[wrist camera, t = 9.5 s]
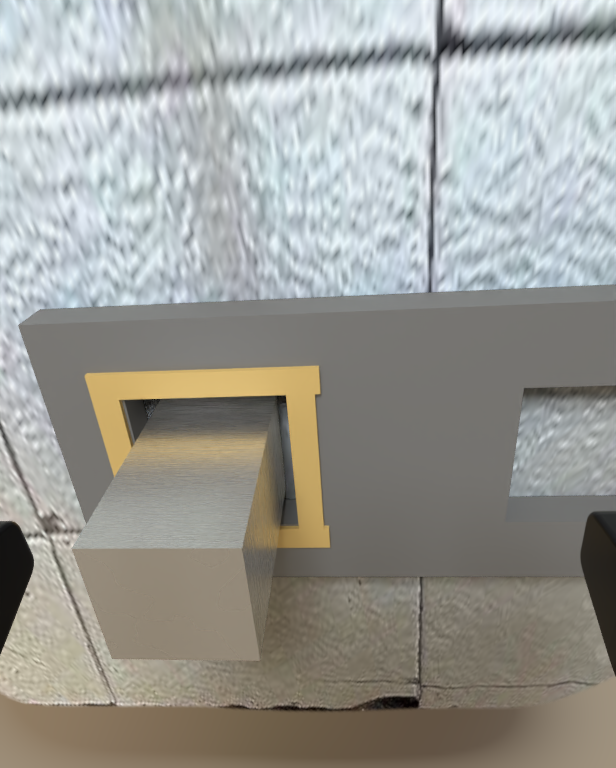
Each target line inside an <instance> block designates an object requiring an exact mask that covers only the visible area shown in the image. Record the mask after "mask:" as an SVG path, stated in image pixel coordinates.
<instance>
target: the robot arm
mask: <svg viewBox="0 0 616 768" xmlns="http://www.w3.org/2000/svg"><path fill="white" fill-rule="evenodd" d="M580 560H581V567H582V570H583V574H584V577H585V580H586V584H587V587H588V590H589V593H590V597H591V600H592V603H593V607H594V610H595V613H596V616H597V620H598V623H599V626H600V630H601V633H602V636H603V639H604V643H605V646H606V649H607V653H608V656H609V659H610V662H611V665H612V668H613V671H614V673H615V676H616V511H594V512H591V513H590V514H589V515H588V518H587V521H586V526H585V531H584V536H583V541H582V546H581V551H580ZM33 567H34V559H33V555H32V552H31V550H30V548H29V546H28V544H27V542H26V539H25V537H24V535H23V533H22V531H21V528H20V527H19V525H18V524H16V523H15V522H12V521H0V654H1V652H2V649H3V647H4V644H5V642H6V639H7V637H8V634H9V631H10V629H11V626H12V624H13V621H14V619H15V616H16V613H17V611H18V608H19V606H20V603H21V600H22V598H23V595H24V593H25V590H26V588H27V585H28V582H29V580H30V577H31V575H32V572H33Z"/></svg>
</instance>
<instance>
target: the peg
mask: <svg viewBox="0 0 616 768" xmlns="http://www.w3.org/2000/svg"><path fill="white" fill-rule="evenodd" d="M285 489H286V482H285V472H284V462H283V452H282V443H281V433H280V423H279V414H278V404H277V395H274V396H239V397H204V398H169V399H161V400H160V401H159V403H158V405H157V407H156V408H155V410H154V412H153V413H152V415H151V417H150V418H149V420H148V422H147V423H146V425H145V427H144V428H143V430H142V432H141V433H140V435H139V437H138V438H137V440H136V442H135V443H134V445H133V447H132V448H131V450H130V452H129V453H128V455H127V457H126V459H125V460H124V462H123V464H122V465H121V467H120V469H119V470H118V472H117V474H116V475H115V477H114V479H113V480H112V482H111V484H110V485H109V487H108V489H107V490H106V492H105V494H104V495H103V497H102V499H101V500H100V502H99V504H98V506H97V507H96V509H95V511H94V512H93V514H92V516H91V517H90V519H89V521H88V522H87V524H86V526H85V527H84V529H83V531H82V532H81V534H80V536H79V537H78V539H77V541H76V542H75V544H74V546H73V547H72V551H73V553H74V556H75V559H76V561H77V564H78V567H79V570H80V572H81V575H82V578H83V581H84V583H85V586H86V589H87V592H88V594H89V597H90V600H91V602H92V605H93V608H94V611H95V613H96V616H97V619H98V622H99V624H100V627H101V630H102V633H103V635H104V638H105V641H106V644H107V646H108V649H109V652H110V654H111V657H112V659H163V660H229V661H260V659H261V652H262V646H263V639H264V632H265V625H266V618H267V612H268V605H269V598H270V591H271V584H272V578H273V571H274V564H275V557H276V550H277V544H278V537H279V530H280V523H281V516H282V510H283V503H284V496H285Z"/></svg>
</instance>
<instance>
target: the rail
mask: <svg viewBox="0 0 616 768" xmlns="http://www.w3.org/2000/svg"><path fill="white" fill-rule="evenodd" d="M18 326H19V329H20V332H21V335H22V338H23V341H24V344H25V346H26V349H27V352H28V355H29V358H30V361H31V364H32V367H33V370H34V373H35V376H36V379H37V381H38V384H39V387H40V390H41V393H42V396H43V399H44V402H45V405H46V408H47V411H48V413H49V416H50V419H51V422H52V425H53V428H54V431H55V434H56V437H57V440H58V443H59V445H60V448H61V451H62V454H63V457H64V460H65V463H66V466H67V469H68V472H69V475H70V478H71V480H72V483H73V486H74V489H75V492H76V495H77V498H78V501H79V504H80V507H81V510H82V512H83V515H84V518H85V521H86V524H87V522H88V521H89V519H90V517H91V516H92V514H93V512H94V511H95V509H96V507H97V506H98V504H99V502H100V500H101V499H102V497H103V495H104V494H105V492H106V490H107V489H108V487H109V485H110V484H111V482H112V480H113V479H114V477H115V475H116V474H117V472H118V470H119V469H120V467H121V465H122V464H123V462H124V460H125V459H126V457H127V455H128V453H129V452H130V450H131V448H132V447H133V445H134V443H135V442H136V440H137V438H138V437H139V435H140V433H141V432H142V430H143V428H144V427H145V425H146V423H147V422H148V419H147V415H146V411H145V407H144V402H143V399H169V398H204V397H239V396H274V395H286V401H287V411H288V421H289V432H290V442H291V452H292V462H293V473H294V483H295V493H296V499H289V500H284V503H283V510H282V516H281V523H280V530H279V537H278V544H277V550H276V557H275V564H274V571H273V577H584V574H583V570H582V567H581V560H580V551H581V546H582V541H583V536H584V531H585V526H586V521H587V518H588V515H589V514H590V513H591V512H594V511H616V495H613V496H532V497H509V491H510V484H511V477H512V470H513V463H514V456H515V449H516V442H517V434H518V427H519V420H520V413H521V406H522V399H523V392H524V388H544V387H579V386H614V385H616V285H595V286H572V287H549V288H525V289H502V290H479V291H456V292H433V293H410V294H387V295H364V296H340V297H317V298H294V299H271V300H248V301H225V302H202V303H179V304H155V305H132V306H109V307H86V308H63V309H40V310H39V311H37V312H36V313H35V314H33V315H32V316H30V317H29V318H28V319H26V320H25V321H23V322H22V323H21V324H19V325H18Z"/></svg>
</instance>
